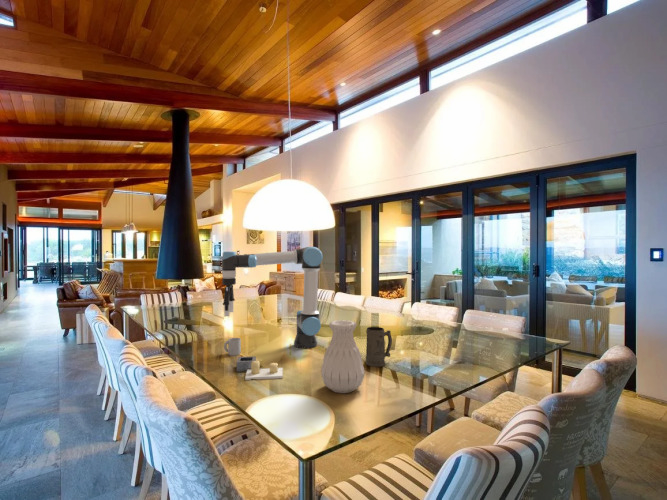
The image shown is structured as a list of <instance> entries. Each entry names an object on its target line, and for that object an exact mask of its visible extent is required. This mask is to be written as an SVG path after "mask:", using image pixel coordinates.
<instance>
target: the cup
mask: <svg viewBox="0 0 667 500" xmlns="http://www.w3.org/2000/svg"><path fill="white" fill-rule="evenodd" d="M241 343H242V341H241V338H240V337H230V338H228V340H227V341H225V342H224V344H223V349H224V352H226V353H228V354H227V355H228V356H232V357H235V356H239V355H240V354H241V353H242V351H241V350H242V349H241V347H242V345H241Z"/></svg>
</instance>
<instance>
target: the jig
mask: <svg viewBox="0 0 667 500" xmlns="http://www.w3.org/2000/svg"><path fill="white" fill-rule="evenodd" d="M260 364H261V363H260V361H259V360H256V361H252V362H251V369H247V371H246V373H245V377H244V380H245V381H252V380H251V379H257V380H273V379H275V380H276V379H277V380H278V379H283V377H284V374H283V373H284V367H278V366H279V365H278V363H277V362H270V363H269V367H268V368H260V366H261V365H260Z"/></svg>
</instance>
